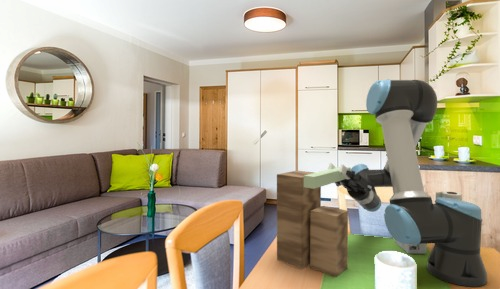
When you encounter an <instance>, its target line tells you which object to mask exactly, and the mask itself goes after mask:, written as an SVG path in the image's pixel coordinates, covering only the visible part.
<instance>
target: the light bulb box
mask: <svg viewBox="0 0 500 289" xmlns="http://www.w3.org/2000/svg"><path fill="white" fill-rule="evenodd" d="M394 243H395V244H396V245H397V246H399V247H400V248H401V249H403V251H404V252H406V253H407V254H416V255H417V254H419V255H420V254H425V255H426V254H427V244H417V245H415V244H403V243H400V242H398V241H396V240H395V239H394Z"/></svg>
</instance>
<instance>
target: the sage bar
mask: <svg viewBox="0 0 500 289" xmlns="http://www.w3.org/2000/svg"><path fill="white" fill-rule="evenodd" d="M340 167H341V166H338V167H336V168H333V169H329V170H328V169H325V170H321V171H318V172H314V173H312V174H308V175H304V187H306V188H312V189H315V188H318V187H321V188H322V187H325V186H328V185H330V184H335V183H334V182H338V181H341V180H344V179H346V178H345V177H344V176H343V175H342V174H341V173H340V172H339V171H340ZM345 167H346V168H347V169H348V170H349V171H351V169H352V167H347V166H345Z"/></svg>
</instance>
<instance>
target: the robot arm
mask: <svg viewBox="0 0 500 289" xmlns="http://www.w3.org/2000/svg"><path fill="white" fill-rule="evenodd" d="M365 102H366V103H365V105H366V106H365V107H366V111H367V112H368V114H370V115H374V116H375V121H376V122H377V123H378V124H380V125H381V129H382V135H383V139H384V140H383V141H384V146H385V152H386V157H387V159H386V160H387V161H386V162H385V165H384V166H383V169H370V168H369V166H368V165H367V164H364V163H358V164H354V166H352V167H351V171H349V170H348V169H347V168H346V167H347V166H345V165H344V164H340V166H339V167H340V171H339V172H340V173H341V174H342V175H343V176H344V177H345V178H346V179H344V180H341V181H338V182H334V183H333V184H335V186H336V187H337V188H338V187H339V188H340V187H341V186H343V188H345V189H346V191H347V194H348V195H349V196H350V198H352V199H353V200H354V201H356V203H358V205H359V206H361V207H362V208H363V209H364V210H366V211H367V212H371V213H374V212H377V211H379V210H380V209H381V207H382V200H381V198H380V196H379V195H378V194H377V190H376V188H392V192H393V193H392V196H391V197H389V205H387V206H386V207H385V209H384V214H383V216H384V217H383V218H384V223H385V225H386V229H387V231H388V234H390V235H391V237H392V238H393V240H394V241H395V240H396V241H398V242H400V243H403V244H415V245H417V244H426V245H427V244H433V248H432V250H431V252H430V254H429V255H428V259H427V262H426V263H427V264H426V269H427V271H428V272H429V273H430V274H431V275H433V276H434V277H436V278H438V279H439V280H442V281H445V282H447V283H450V284H453V285H458V286H461V287H463V286H464V287H469V288H470V287H471V288H472V287H475V288H476V287H477V288H478V287H482V286H485V285H486V284H487V283H488V274H487V270H486V266H485V265H484V262H483V259H482V256H481V255H482V254H481V245H482V243H481V242H482V224H483V223H482V222H483V219H482V209H481V208H480V207H479V206H478V205H477V204H475V203H472V202H469V201H466V200H465V201H464V200H462V201H461V200H456V199H451V198H443V197H438V198H436V197H435V200H434V202H433V200H432V196H431V195H429V194H428V193H426V192H425V189H424V184H423V178H422V174H421V169H420V164H419V159H418V155H417V150H416V147H417V145H418V143H419V141H420V139H421V137H422V135H423V132H424V131H425V128H426V127H427V125H428V124H430V123H432V121H433V119H434V118H435V115H436V112H437V109H438V97H437V94H436V91H435V89H434V88H433V86H432V85H431V84H429V83H428V82H426V81H424V80H420V79H388V78H387V79H381V80H380V79H379V80H376V81H374V82H373V83H372V84H371V86H370V87H369V89H368V92H367V95H366V100H365ZM333 168H337V167H336V166H335V165H334V164H333V163H330V162H329V163H328V167H327V170H329V169H333Z"/></svg>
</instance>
